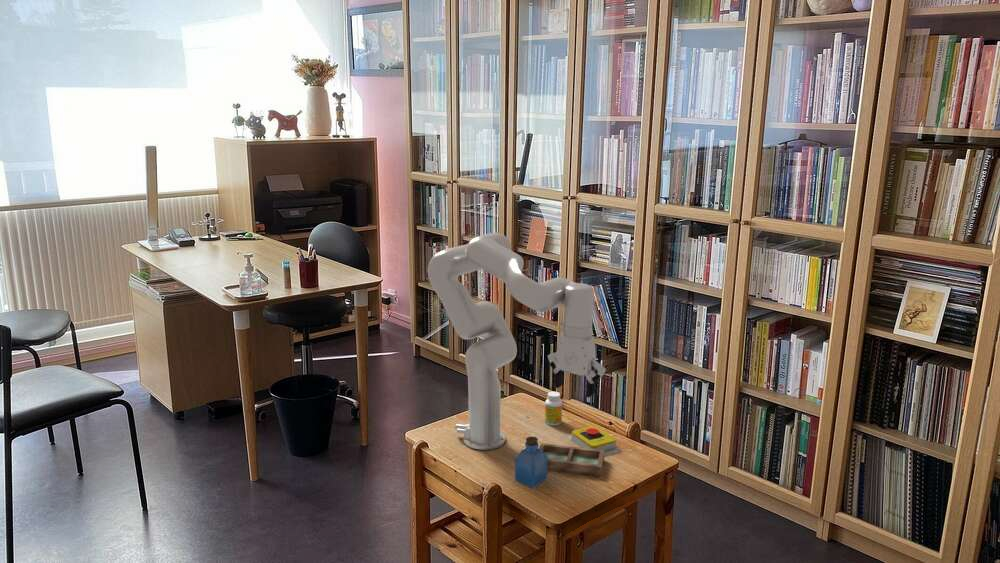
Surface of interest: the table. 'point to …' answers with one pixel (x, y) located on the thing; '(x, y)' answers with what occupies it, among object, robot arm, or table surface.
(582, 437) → the emergency button
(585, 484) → the table surface
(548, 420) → the supplement bottle
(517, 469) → the perfume bottle
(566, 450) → the organizer
